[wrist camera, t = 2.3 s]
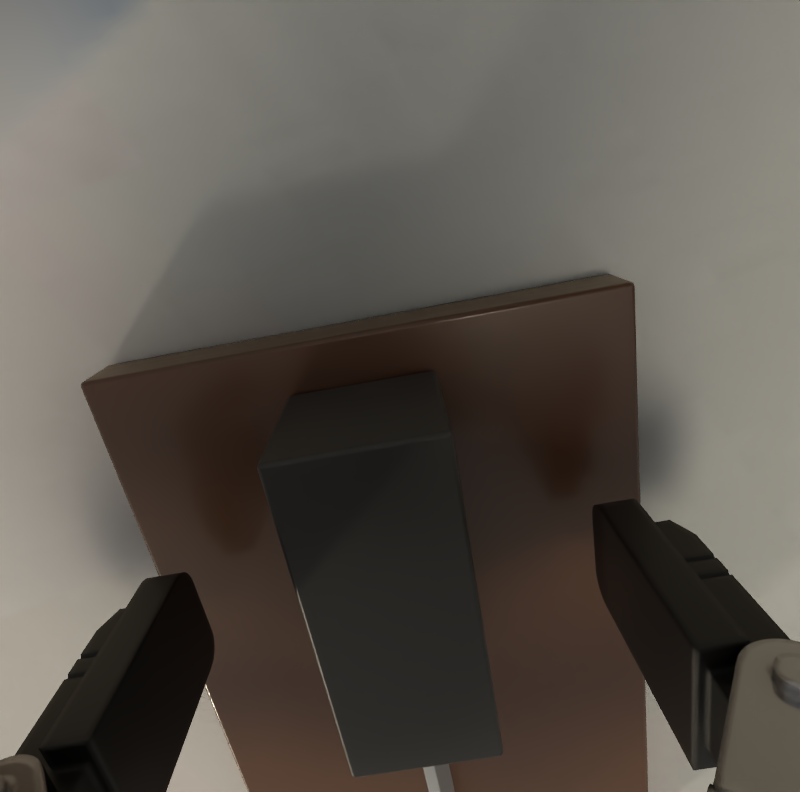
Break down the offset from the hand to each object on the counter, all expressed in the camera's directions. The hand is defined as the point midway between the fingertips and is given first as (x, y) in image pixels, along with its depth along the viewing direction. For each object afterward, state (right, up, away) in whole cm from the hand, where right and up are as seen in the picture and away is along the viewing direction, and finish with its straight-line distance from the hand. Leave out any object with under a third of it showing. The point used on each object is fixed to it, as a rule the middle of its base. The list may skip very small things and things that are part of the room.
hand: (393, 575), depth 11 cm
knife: (+1, -3, +3) cm, 5 cm away
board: (+1, -3, +4) cm, 5 cm away
